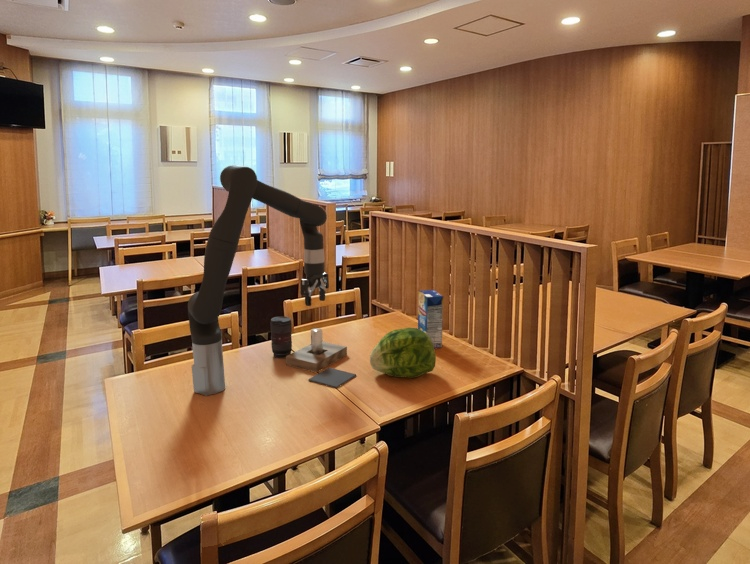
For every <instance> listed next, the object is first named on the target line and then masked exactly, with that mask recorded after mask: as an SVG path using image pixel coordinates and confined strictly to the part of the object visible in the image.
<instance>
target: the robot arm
mask: <svg viewBox="0 0 750 564" xmlns="http://www.w3.org/2000/svg"><path fill="white" fill-rule="evenodd" d="M219 180H220V181H219V182H220V184H221V186H222V188H223V189H224V190H225V191H226V192H228V193H227V194H228V195H227V199H226V203H225V206H224V208H223V210H222V212H221V213H220V215H219V217H218V218H217V219H216V221H215V223H214V224H213V226H212V228H211V229H210V232H209V234H208V238H207V242H206V245H205V249H204V250H205V251H204V258H203V276H202V280H201V285H200V288H199V290H198V291H196V292H194V293H193V294H192V295H191V296H190V297H189V299H188V301H187V302H188V303H187V316H188V322H189V324H188V326H189V332H190V336H191V342H192V343H191V344H192V356H193V364H192V365H191V374H192V375H191V376H192V385H193V392H194V393H196V394H199V395H201V396H205V397H207V396H211V395H215V394H218V393H221V392H222V391H224V390H225V388H226V379H225V377H226V376H225V368H224V367H225V365H224V364H225V363H224V354H223V350H224V349H223V338H222V330H221V327H220V323H219V317H220V315H221V313H222V307H223V301H224V296H225V290H226V286H227V282H228V278H229V277H230V276H229V275H230V273H231V270H232V266H233V264H234V263H233V262H234V260H235V257H236V253H237V249H238V246H239V243H240V237H241V234H242V231H243V226H244V224H245V220H246V216H247V213H248V210H249V207H250V206H251V203H252V200H255V201H258V202H260V203H262V204H264V205H266V206H268V207H270V208H272V209H274V210H276V211H278V212H281V213H282V214H284V215H286V216H288V217H292V218H296V219H299V224H300V228H301V232H302V235H303V247H304V248H303V269H304V271H303V272H304V274H305V275H306V278H301V279H300V296H303V297H304V305H305V306H306V307H310V306H312V294H313V292H314V291H315V289H318V290H319V291H318V294H319V295H318V298H319V301H321V302H324V301H326V291H327V289H329V287H330V285H329V284H330V283H329V280H330V279H329V273H326V271H325V270H326V269H325V266H326V265H325V251H324V236H323V233H322V232H320V231H319V230H318V227H321V226H323V225H324V224H325V223H326V221H327V217H328V215H327V212H326V210H325V209H324V208H323V207H322V206H319V205H317V204H314V203H311V202H309V201H306V200H303V199H301V198H300V197H298V196H296V195H294V194H291V193H289V192H287V191H285V190H283V189H279V188H277V187H274V186H272V185H270V184H266V183H264V182H262V181H260V180H258V176H257V174H256V171H255V170H254V169H253V168H251V167H249V166H246V165H238V164H231V165H228V166H226V167H224V168H223V170H222V171H221V172H220V177H219Z"/></svg>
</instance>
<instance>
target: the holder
mask: <svg viewBox="0 0 750 564" xmlns="http://www.w3.org/2000/svg"><path fill="white" fill-rule="evenodd" d="M347 348H348V347H347V346H346V345H340V344H336V343H332V342H327V341H323V353H322V354H320V355H315V354H311V343H310V344H308V345H307V346H304V347H302V348H300V349H298V350H296V351H294V352H291V354H289V355H287V356H286V357H285V363H286V366H290V367H293V368H296V367H297V369H300V370H304V371H309V372H312V373H318V372H319V370H320V371H322V370H324V369H326V367H327V368H328V366H329V367H330V365H332V364H334V363H335V362H337V361H339V360H341V359H342V358H345V357H346V356H348V349H347ZM321 369H322V370H321Z"/></svg>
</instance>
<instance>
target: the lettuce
mask: <svg viewBox="0 0 750 564" xmlns="http://www.w3.org/2000/svg"><path fill="white" fill-rule="evenodd" d="M435 350H436V349H434V346H433V343H432V341H431V339H430V337H429V335H427V334H426V333H425V332H424V331H422V330H419V329H418V327H405V328H398V329H393V330H390V331H388V333H386V334H385V335H384V336H382V337H381V338H380V339H379V341H378V343H377V344H376V345H375V346H374V348H373V349H372V351H371V352H370V355H369V365H370V366H371V368H372V369H373V370H375V371H377V372H380V373H383V374H386V375H388V376H392V377H394V378H395V377H396V378H408V379H409V378H411V379H413V378H416V377H421V376H422V375H425V374H427V373H431V372H433V370H434V369H435V367H436V363H437V362H436V360H437V358H436V351H435Z"/></svg>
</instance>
